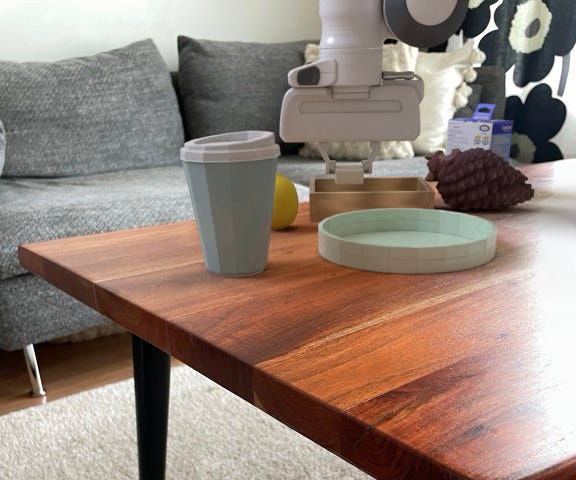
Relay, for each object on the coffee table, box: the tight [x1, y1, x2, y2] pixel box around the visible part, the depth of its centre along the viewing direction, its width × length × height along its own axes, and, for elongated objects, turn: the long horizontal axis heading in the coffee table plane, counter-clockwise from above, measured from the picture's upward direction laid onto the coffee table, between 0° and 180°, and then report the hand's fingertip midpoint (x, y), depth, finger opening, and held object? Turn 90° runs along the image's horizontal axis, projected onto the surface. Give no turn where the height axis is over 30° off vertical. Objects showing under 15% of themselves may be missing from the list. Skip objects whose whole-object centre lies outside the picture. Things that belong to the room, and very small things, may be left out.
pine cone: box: [424, 147, 535, 212], centre depth 110 cm, size 18×10×10 cm
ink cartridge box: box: [444, 102, 514, 163], centre depth 120 cm, size 10×6×14 cm, turn 36°
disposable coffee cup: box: [179, 130, 282, 278], centre depth 78 cm, size 11×11×15 cm
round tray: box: [317, 208, 499, 275], centre depth 87 cm, size 21×21×4 cm
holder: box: [308, 176, 436, 223], centre depth 108 cm, size 18×14×5 cm
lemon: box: [271, 172, 299, 231], centre depth 98 cm, size 6×6×8 cm
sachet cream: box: [334, 163, 365, 185], centre depth 106 cm, size 4×6×2 cm, turn 178°
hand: (348, 173), depth 106 cm, fingers closed on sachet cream, 4 cm apart
